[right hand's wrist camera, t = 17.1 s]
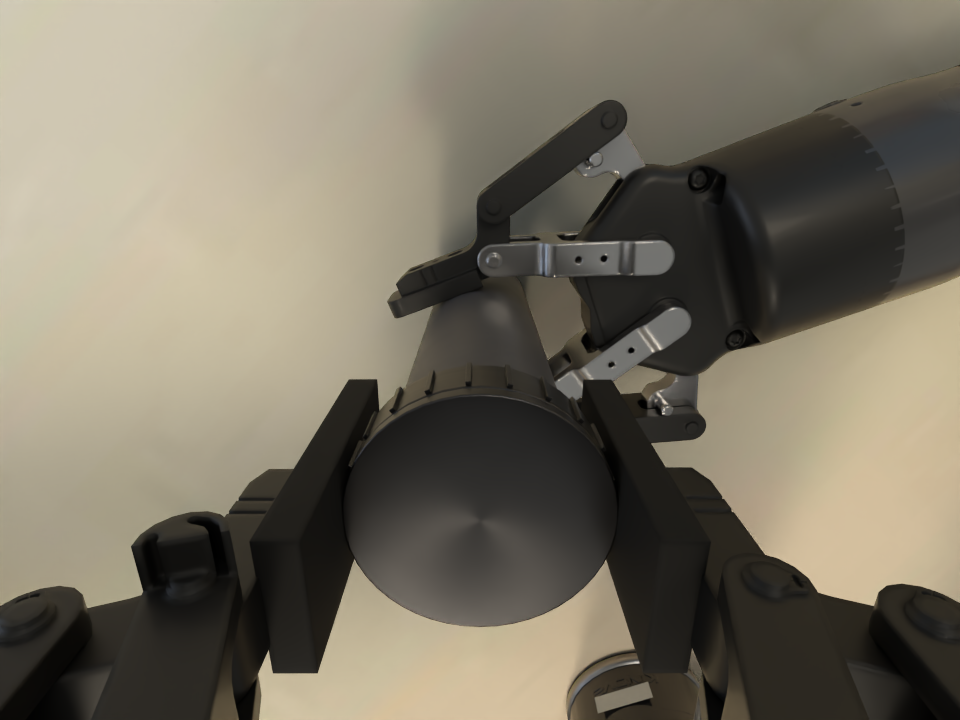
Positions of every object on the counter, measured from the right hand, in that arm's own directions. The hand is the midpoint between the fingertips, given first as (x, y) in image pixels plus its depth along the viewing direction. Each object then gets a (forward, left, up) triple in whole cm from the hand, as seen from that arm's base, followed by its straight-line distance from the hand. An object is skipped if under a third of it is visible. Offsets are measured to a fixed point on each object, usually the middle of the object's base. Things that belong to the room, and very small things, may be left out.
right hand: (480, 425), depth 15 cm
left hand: (-1, +2, -8) cm, 8 cm away
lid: (0, 0, +4) cm, 4 cm away
